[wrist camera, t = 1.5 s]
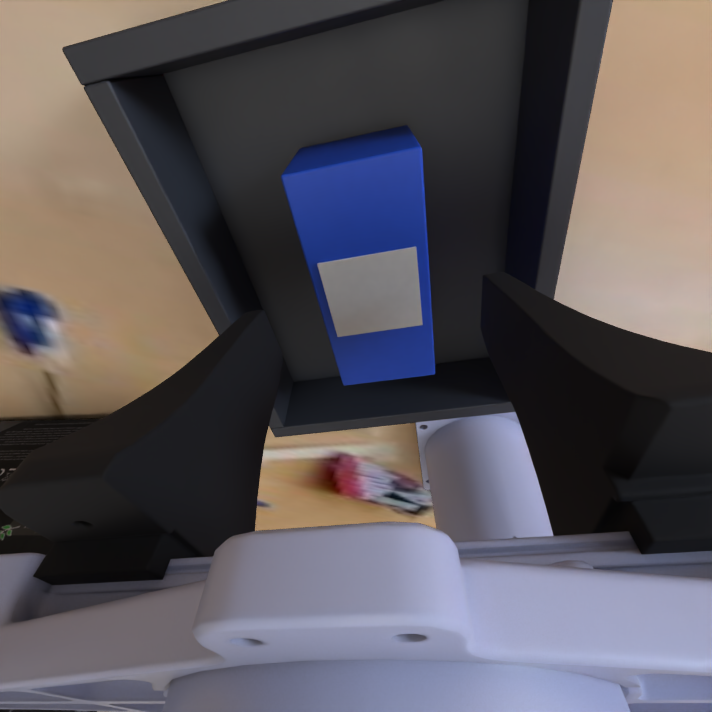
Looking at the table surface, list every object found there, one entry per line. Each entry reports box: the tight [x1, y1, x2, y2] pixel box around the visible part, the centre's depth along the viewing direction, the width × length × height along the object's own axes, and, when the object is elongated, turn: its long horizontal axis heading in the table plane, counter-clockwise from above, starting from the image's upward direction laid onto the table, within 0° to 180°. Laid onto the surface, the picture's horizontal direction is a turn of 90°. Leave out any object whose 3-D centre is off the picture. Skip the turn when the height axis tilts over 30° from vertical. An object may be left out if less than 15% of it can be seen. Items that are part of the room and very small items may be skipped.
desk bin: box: [62, 0, 613, 437], centre depth 15 cm, size 17×14×4 cm
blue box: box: [281, 125, 435, 386], centre depth 15 cm, size 9×4×4 cm, turn 11°
